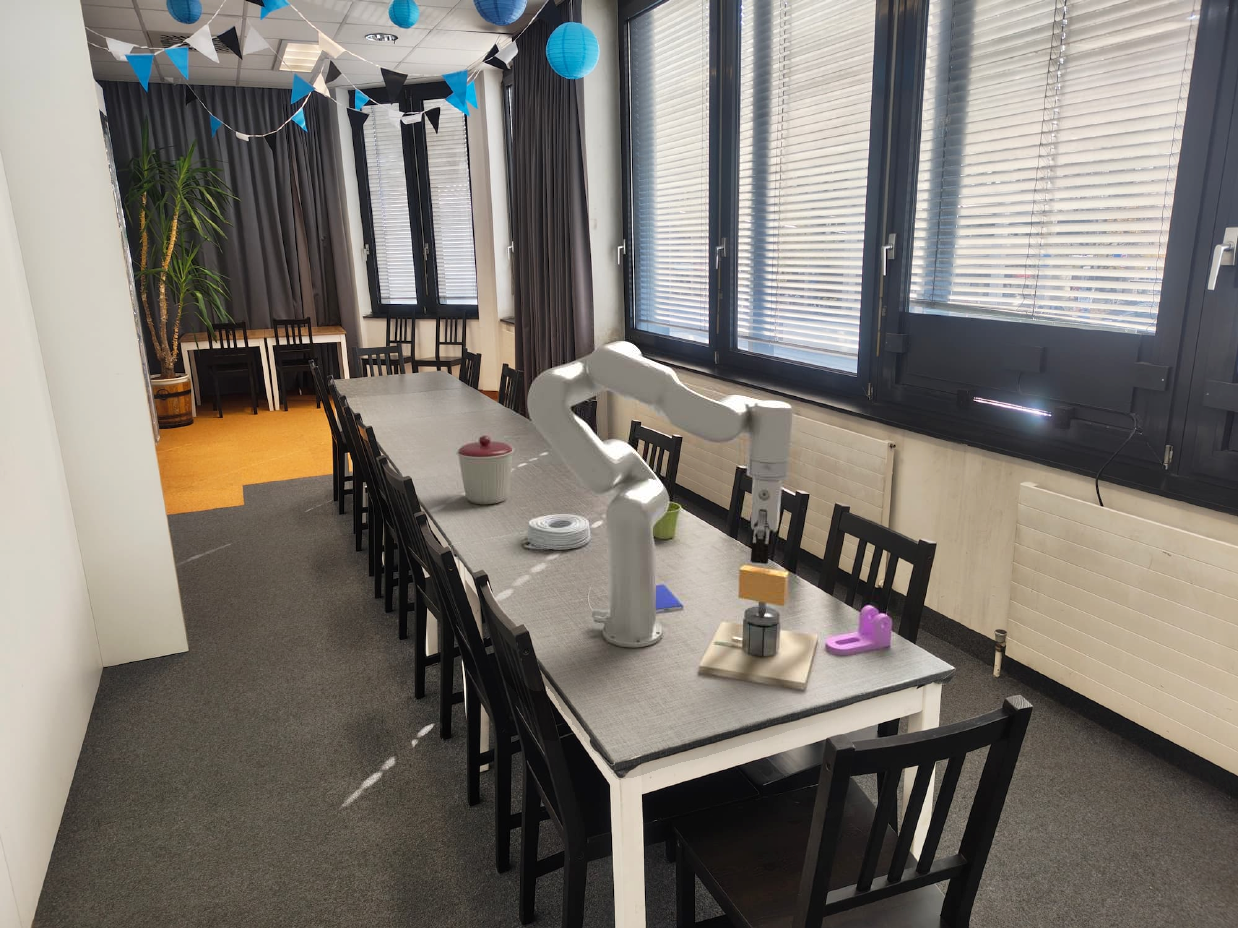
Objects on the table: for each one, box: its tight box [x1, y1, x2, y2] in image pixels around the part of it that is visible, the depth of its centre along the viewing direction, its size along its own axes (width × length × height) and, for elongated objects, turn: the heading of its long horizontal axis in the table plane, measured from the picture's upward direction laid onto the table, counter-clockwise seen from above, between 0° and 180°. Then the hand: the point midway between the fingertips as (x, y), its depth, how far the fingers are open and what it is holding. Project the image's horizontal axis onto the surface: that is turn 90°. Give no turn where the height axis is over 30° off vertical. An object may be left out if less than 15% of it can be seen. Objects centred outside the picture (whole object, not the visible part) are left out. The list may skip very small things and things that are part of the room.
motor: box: [732, 564, 790, 657], centre depth 162 cm, size 7×10×16 cm, turn 64°
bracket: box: [825, 604, 893, 656], centre depth 168 cm, size 13×6×7 cm, turn 111°
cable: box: [521, 513, 591, 551], centre depth 228 cm, size 18×18×6 cm
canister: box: [455, 435, 515, 505], centre depth 263 cm, size 18×18×21 cm
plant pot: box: [653, 501, 682, 540], centre depth 231 cm, size 9×9×9 cm
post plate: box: [698, 621, 819, 691], centre depth 163 cm, size 20×20×8 cm
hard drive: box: [656, 583, 685, 614], centre depth 191 cm, size 2×8×12 cm
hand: (761, 553), depth 159 cm, fingers open, 9 cm apart
